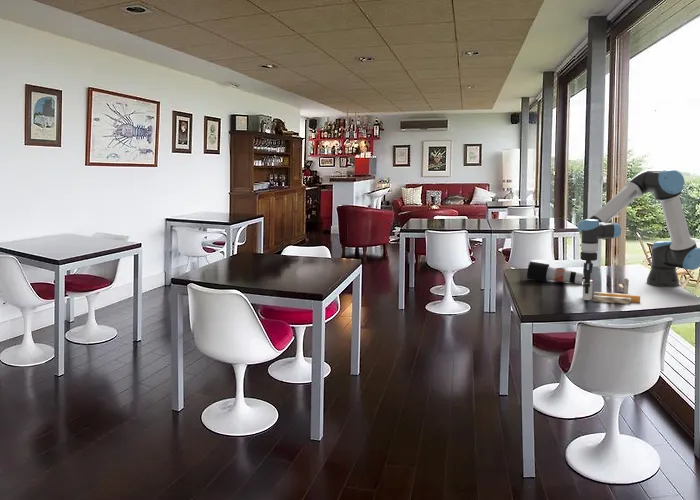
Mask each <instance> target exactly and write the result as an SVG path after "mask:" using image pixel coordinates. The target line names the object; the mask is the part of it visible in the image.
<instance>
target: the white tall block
mask: <svg viewBox="0 0 700 500" xmlns="http://www.w3.org/2000/svg"><path fill="white" fill-rule="evenodd" d="M584 280H585V279H584ZM584 280H583V281H582V296H583V295H584V287H583V285H584ZM586 284H587V283H586ZM592 294H593V283H592V280H590V297H589V300H588V301H591V300H593V299H592V298H593V295H592ZM581 299H582V300H583V297H582V298H581Z"/></svg>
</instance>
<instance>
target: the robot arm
mask: <svg viewBox="0 0 700 500" xmlns="http://www.w3.org/2000/svg"><path fill="white" fill-rule="evenodd" d="M684 185H685V177H684V175H683V174H682V173H681V172H680V171H679V170H676V169H671V168H663V169H662V168H660V169H659V168H658V169H657V168H656V169H655V168H650V169H645V170H643V171H641V172H639V173H638V174H637V175H636V174H635V176H633V177H632V178H631V179H629V180H628V181H627V182H626V183H625V185H624V186H625V187H623V188H622V189H621V190H620V191H619V192H618V193H616V195H614V196H613V197H611V199H610V200H609V201H607V202H606V203H605V204H604V205H603V206H601V208H599V209H598V210H597V211H596V212H595V213H594V214H592V215H591V216H590V217H589V218H586V219H582V220H579V222H578V224H577V231H578V232H579V233H580V234H581V236H580V238H581V239H580V240H581V243H580V244H579V247H580V256H579V257H580V260H582V261H585V262H584V263H583V274H584V277H585V280H584V285H583V284H582V288H583V287H584V295H583V294H582V298H583V299H582V300H584V301H590V300H589V297H590V280H591V278H592V276H591V275H592V272H593V267H594V264H593V262H592V261H598V250H599V240H601V239H602V240H603V239H616V238H618V237H620V235H621V233H622V228H621V225H620V224H619V223H618V222H610V221H611V220H612V219H613V218H615V217H616V216H617V215H618V214H619V213H620V212H622V211H623V210H624V209H625V208H626V207H628V205H630V204H631V203H632V202H633V201H634V200H635V199H636V198H640V197H642V196H643V195H645V194H647V193H653V195H654V198H655V200H657V201H658V202H660V205H661V209H662V213H663V217H664V220H665V224H666V227H667V230H668V235H669V237H670V240H666V241H665V240H664V241H655V242H653V243H652V249H651V267H650V271H649V273H648V275H647V277H646V283H647V284H648V285H651V286H657V287H658V286H659V287H679V285H680V281H679V277H678V273H677V268H678V269H682V270H683V269H684V270H687V271H688V270H689V271H694V270H698V268H699V269H700V247H698V246H697V242H696V241H695V239H692V238H691V237H692V236H691V235H690V231H689V226H688V224H687V221H686V216H685V212H684V209H683V205H682V202H681V197H680V196H681V195H682V192H683V191H682V190H683V189H684ZM586 283H587V284H586Z"/></svg>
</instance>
